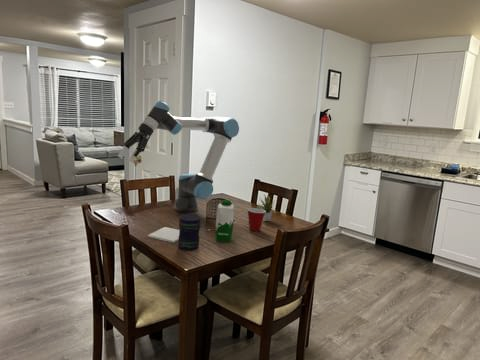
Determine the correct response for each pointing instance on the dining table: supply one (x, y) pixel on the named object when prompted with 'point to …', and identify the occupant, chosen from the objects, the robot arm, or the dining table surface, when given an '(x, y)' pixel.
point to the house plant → (266, 205)
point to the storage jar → (189, 232)
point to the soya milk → (224, 221)
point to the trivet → (166, 234)
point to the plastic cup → (255, 218)
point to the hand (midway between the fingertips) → (124, 159)
